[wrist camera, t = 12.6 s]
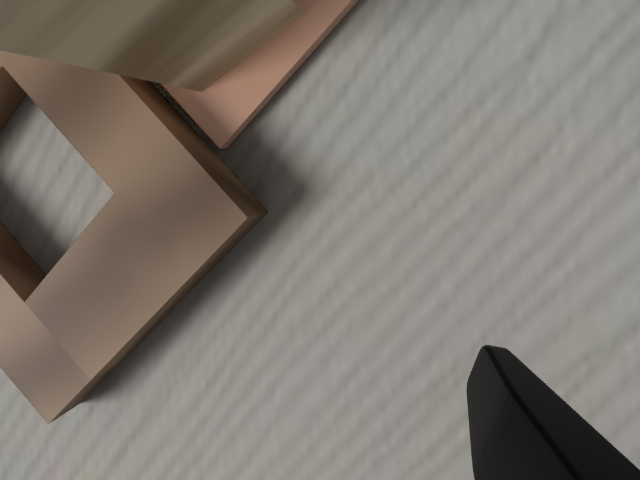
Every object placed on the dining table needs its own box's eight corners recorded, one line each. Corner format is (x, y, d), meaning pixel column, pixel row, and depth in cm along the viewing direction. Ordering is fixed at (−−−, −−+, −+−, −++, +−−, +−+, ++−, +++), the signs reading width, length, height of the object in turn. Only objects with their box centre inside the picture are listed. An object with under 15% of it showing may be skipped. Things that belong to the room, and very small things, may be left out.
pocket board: (267, 211, 21) (247, 217, 19) (79, 403, 25) (48, 424, 24) (16, -67, 22) (-27, -87, 20) (-123, 164, 26) (-169, 166, 24)
